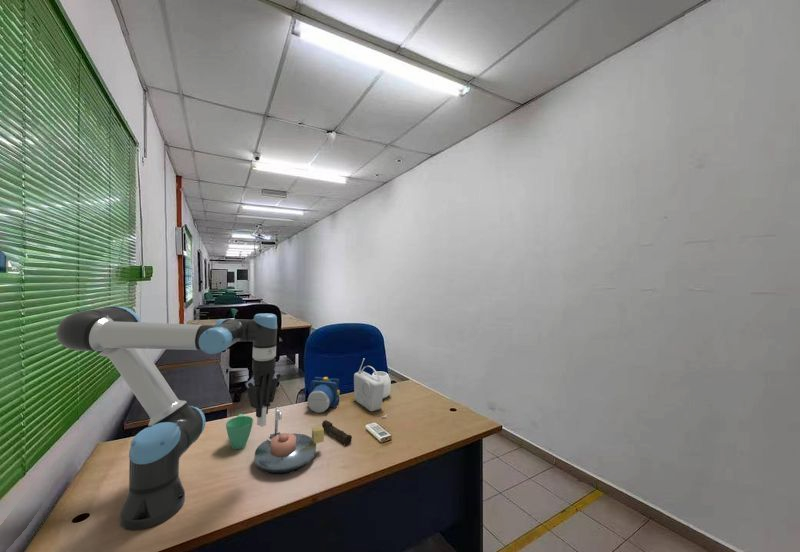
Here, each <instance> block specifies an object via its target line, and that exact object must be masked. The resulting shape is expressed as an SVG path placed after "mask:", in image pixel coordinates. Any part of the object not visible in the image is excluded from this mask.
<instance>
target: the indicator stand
mask: <svg viewBox="0 0 800 552" xmlns="http://www.w3.org/2000/svg"><path fill="white" fill-rule="evenodd" d="M274 414H275V415H274V416H275V417H274V418H275V419H274V433H270V434H269V435H270V437H269V439H270V438H273V437H275V436H277V435H279V434H282V433H281V432H280V431H279V421H280V420H282V418H283V414H282V411H280V410H279V406H276V407H275V412H274Z"/></svg>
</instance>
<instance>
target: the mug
mask: <svg viewBox="0 0 800 552" xmlns="http://www.w3.org/2000/svg"><path fill="white" fill-rule="evenodd" d="M253 422H254V419H253V417H251V416H248V415H244V414H243V413H239V414H237V416H236V417H233V418H231V419H229V420H227V422H226V424H225V428H226V432H227V437H228V440H229V443H230V445H231V449H233V450H241V449H243V448H245V447H246V445H247V443H248V441H249V437H250V435H251V432H252V428H253Z"/></svg>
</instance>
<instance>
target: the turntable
mask: <svg viewBox="0 0 800 552" xmlns="http://www.w3.org/2000/svg"><path fill="white" fill-rule="evenodd" d="M292 434H293V435H295V436H296V449H295V451H294V452H293V453H292V454H290V455H288V456H284V457H275V456H273V455H271V453H270V448H271V439H272V438H270V437H269V438H267V439H266V440H265V441H263V442H262V443H260V444H259V445H258V446H257V448H256V449H255V451H254V464H255V465H256V467H258V468H259V469H261V470H262V471H263V470H265V471H270V472H284V471H290V470H293V469H296V468H299V467H301V466H303V465H305V464H307V465H308V464H309V462H310V461H312V460H313V458H314V457H315V455H316V453H317V444H320V443H324V441H325V431H324V428H323V427H322V425H321V426H315V427H312V428H311V436H308V435H307V434H303V433H292ZM305 466H306V465H305Z"/></svg>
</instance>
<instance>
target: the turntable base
mask: <svg viewBox="0 0 800 552" xmlns="http://www.w3.org/2000/svg"><path fill="white" fill-rule="evenodd" d="M307 465H308V463H307V464H305V465H303V466H301V467H299V468H296V469H293V470H290V471H284V472H270V471H265V470H262V471H263V472H264V473H267V474H269V475H274V476H283V475H288V474H292V473H295V472H297V471H299V470H301V469H303V468H304V467H305V466H307Z"/></svg>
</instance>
